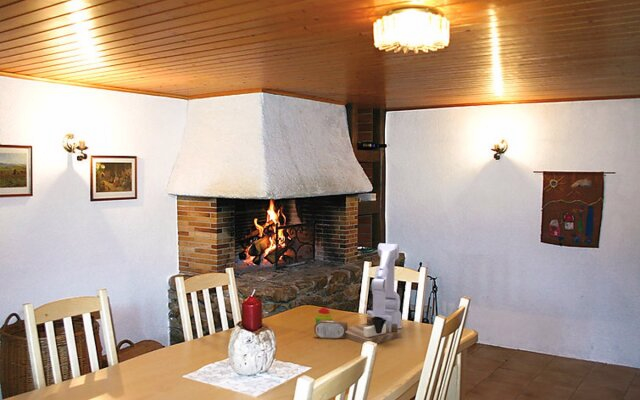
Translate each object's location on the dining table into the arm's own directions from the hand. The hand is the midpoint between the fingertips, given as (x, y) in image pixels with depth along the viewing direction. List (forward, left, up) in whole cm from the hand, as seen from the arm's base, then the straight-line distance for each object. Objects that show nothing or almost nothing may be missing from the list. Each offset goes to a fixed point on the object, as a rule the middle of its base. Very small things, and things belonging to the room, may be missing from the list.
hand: (378, 333), depth 273 cm
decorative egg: (+3, -37, -5) cm, 37 cm away
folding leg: (-2, -4, -2) cm, 4 cm away
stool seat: (-4, -11, -4) cm, 12 cm away
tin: (+13, -20, -5) cm, 24 cm away
